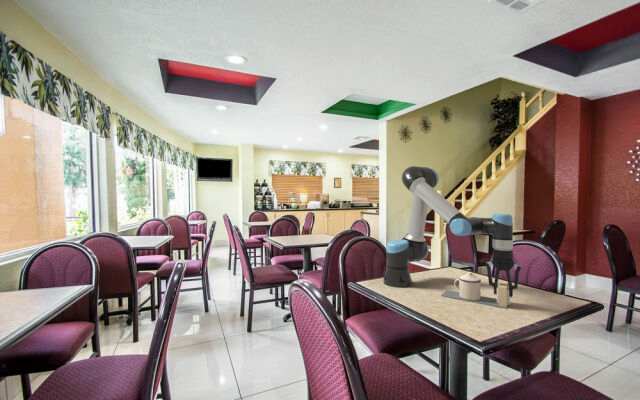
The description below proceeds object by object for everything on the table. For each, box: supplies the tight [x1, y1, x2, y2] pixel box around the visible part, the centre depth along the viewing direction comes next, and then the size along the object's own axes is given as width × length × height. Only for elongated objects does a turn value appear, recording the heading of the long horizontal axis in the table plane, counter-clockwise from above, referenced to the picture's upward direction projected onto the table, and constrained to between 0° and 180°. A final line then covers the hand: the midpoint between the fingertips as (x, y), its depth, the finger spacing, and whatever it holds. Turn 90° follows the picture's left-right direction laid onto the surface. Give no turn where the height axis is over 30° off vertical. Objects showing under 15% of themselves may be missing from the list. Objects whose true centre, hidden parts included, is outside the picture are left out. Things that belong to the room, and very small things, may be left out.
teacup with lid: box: [453, 271, 482, 301], centre depth 132 cm, size 12×9×12 cm
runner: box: [441, 282, 509, 310], centre depth 130 cm, size 26×10×8 cm, turn 52°
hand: (503, 302), depth 123 cm, fingers closed on runner, 3 cm apart
